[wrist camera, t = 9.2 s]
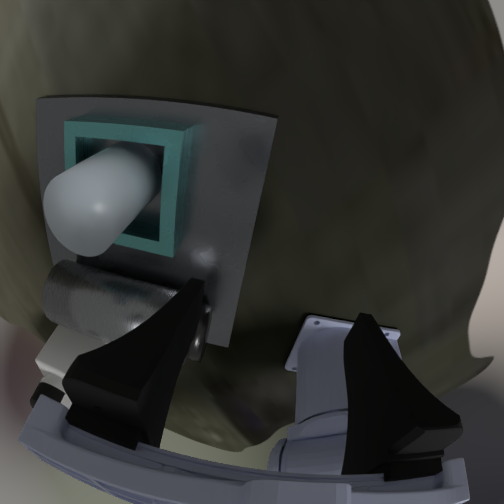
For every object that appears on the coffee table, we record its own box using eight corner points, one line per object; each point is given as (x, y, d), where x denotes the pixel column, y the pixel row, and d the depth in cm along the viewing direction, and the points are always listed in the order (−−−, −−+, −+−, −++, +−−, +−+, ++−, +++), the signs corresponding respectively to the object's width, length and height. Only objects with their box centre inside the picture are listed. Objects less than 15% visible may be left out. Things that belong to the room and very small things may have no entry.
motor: (278, 115, 18) (272, 136, 12) (230, 335, 29) (216, 398, 23) (48, 95, 18) (-18, 115, 12) (68, 290, 28) (34, 336, 23)
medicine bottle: (74, 352, 35) (37, 420, 25) (61, 317, 31) (13, 392, 21) (119, 369, 35) (85, 445, 25) (110, 335, 31) (65, 420, 21)
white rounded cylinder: (166, 147, 18) (115, 183, 13) (157, 213, 21) (114, 266, 15) (103, 135, 18) (41, 166, 12) (100, 198, 20) (47, 243, 15)
